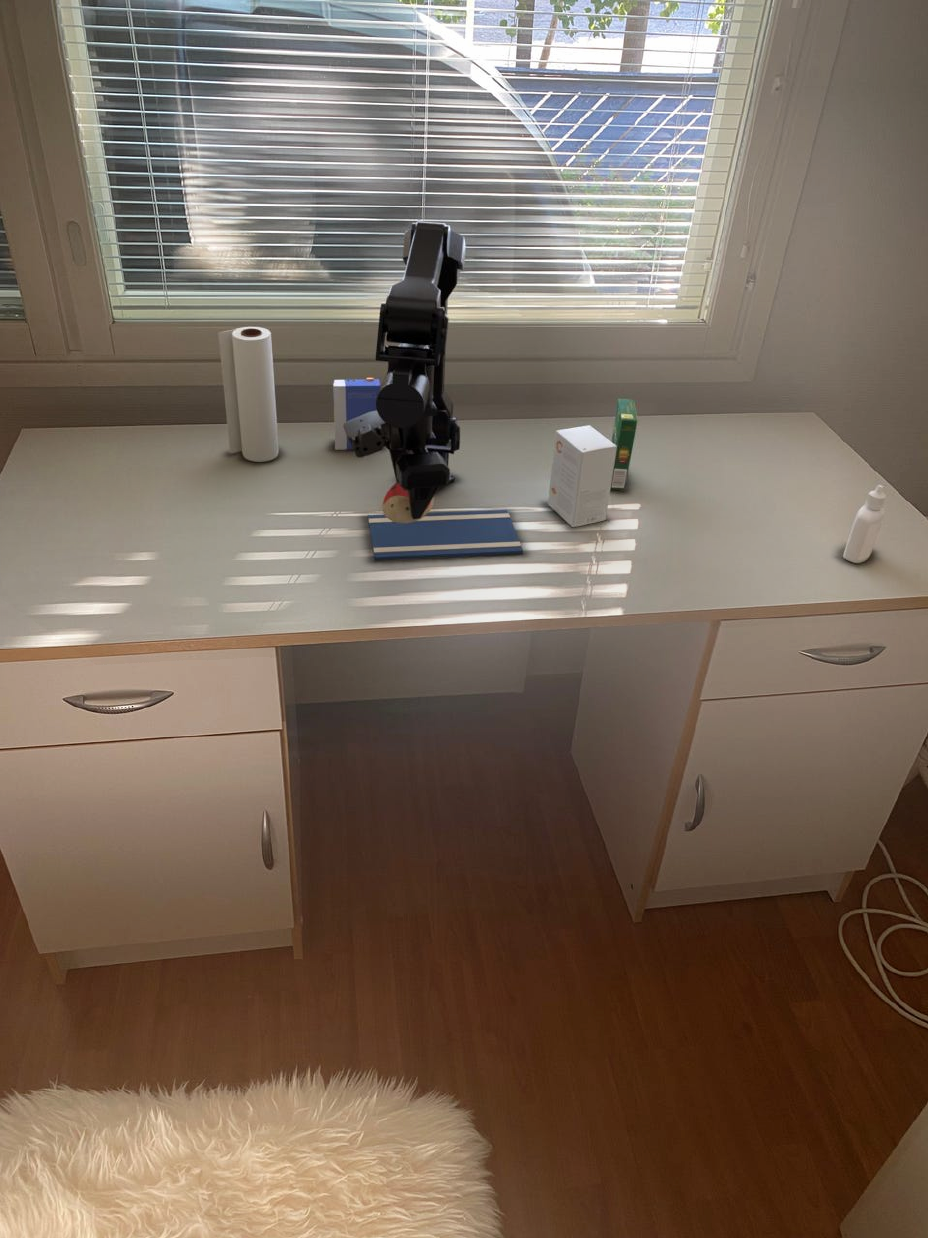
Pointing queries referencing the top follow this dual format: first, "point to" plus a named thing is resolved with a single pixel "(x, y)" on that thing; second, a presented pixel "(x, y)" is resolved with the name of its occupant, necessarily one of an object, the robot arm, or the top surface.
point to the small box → (581, 475)
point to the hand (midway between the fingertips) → (408, 501)
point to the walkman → (352, 404)
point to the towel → (444, 536)
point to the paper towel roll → (249, 392)
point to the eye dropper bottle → (866, 527)
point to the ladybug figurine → (399, 505)
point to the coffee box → (623, 441)
